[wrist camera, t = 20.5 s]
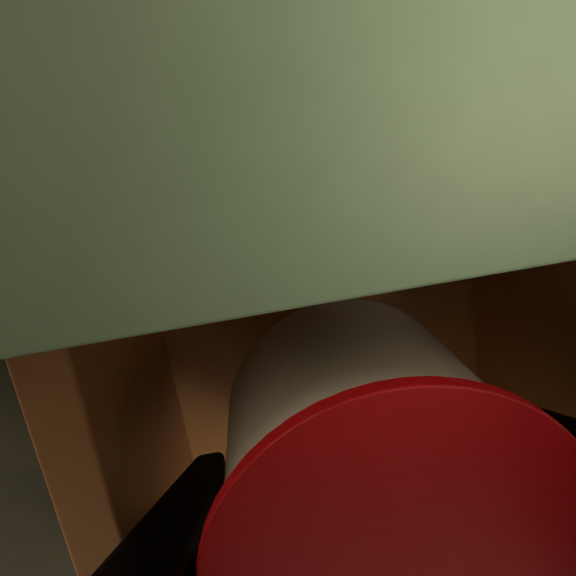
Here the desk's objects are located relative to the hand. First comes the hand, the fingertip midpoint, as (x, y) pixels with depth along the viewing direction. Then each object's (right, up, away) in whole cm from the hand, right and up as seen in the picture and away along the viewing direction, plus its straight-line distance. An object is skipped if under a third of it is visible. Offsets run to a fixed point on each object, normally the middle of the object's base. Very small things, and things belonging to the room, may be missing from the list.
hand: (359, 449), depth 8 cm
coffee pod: (0, 0, +1) cm, 1 cm away
